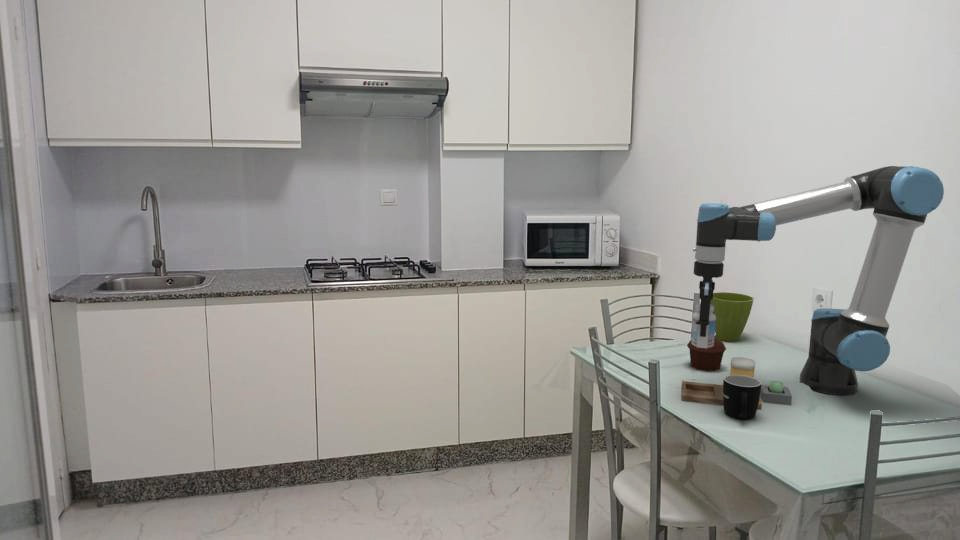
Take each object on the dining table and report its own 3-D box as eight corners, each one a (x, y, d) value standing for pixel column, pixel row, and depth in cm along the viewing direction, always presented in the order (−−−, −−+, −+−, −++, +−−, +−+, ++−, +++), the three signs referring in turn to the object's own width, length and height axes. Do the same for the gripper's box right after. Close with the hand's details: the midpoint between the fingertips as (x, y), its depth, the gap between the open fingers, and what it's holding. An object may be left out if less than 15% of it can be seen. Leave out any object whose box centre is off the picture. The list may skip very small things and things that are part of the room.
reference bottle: (751, 396, 180) (754, 358, 178) (753, 404, 174) (756, 365, 172) (727, 394, 182) (730, 356, 180) (728, 402, 176) (731, 363, 174)
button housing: (787, 399, 181) (788, 387, 180) (790, 408, 174) (792, 396, 174) (759, 396, 183) (760, 384, 182) (762, 405, 176) (763, 393, 176)
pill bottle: (712, 343, 182) (716, 303, 180) (714, 349, 176) (718, 308, 174) (689, 341, 183) (693, 302, 181) (691, 347, 177) (694, 306, 175)
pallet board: (756, 397, 182) (757, 388, 182) (760, 413, 171) (761, 404, 170) (681, 389, 188) (682, 380, 188) (681, 404, 177) (681, 395, 176)
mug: (719, 409, 173) (722, 373, 171) (755, 413, 171) (758, 376, 169) (723, 427, 162) (726, 388, 160) (762, 431, 160) (765, 392, 158)
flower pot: (744, 334, 246) (747, 293, 243) (755, 346, 231) (758, 301, 228) (702, 332, 248) (705, 291, 245) (711, 344, 233) (714, 300, 230)
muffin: (722, 363, 212) (725, 333, 210) (726, 374, 201) (729, 342, 200) (684, 359, 215) (686, 330, 213) (686, 370, 204) (688, 339, 202)
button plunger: (781, 394, 179) (782, 381, 179) (783, 398, 176) (784, 386, 175) (768, 392, 180) (769, 380, 180) (769, 396, 177) (770, 384, 176)
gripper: (696, 255, 185) (689, 333, 190) (692, 265, 168) (685, 352, 172) (724, 257, 183) (717, 336, 187) (723, 267, 165) (716, 355, 169)
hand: (702, 344), depth 180 cm, fingers closed on pill bottle, 6 cm apart
